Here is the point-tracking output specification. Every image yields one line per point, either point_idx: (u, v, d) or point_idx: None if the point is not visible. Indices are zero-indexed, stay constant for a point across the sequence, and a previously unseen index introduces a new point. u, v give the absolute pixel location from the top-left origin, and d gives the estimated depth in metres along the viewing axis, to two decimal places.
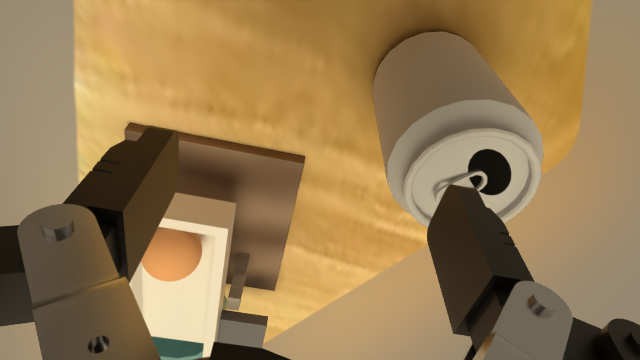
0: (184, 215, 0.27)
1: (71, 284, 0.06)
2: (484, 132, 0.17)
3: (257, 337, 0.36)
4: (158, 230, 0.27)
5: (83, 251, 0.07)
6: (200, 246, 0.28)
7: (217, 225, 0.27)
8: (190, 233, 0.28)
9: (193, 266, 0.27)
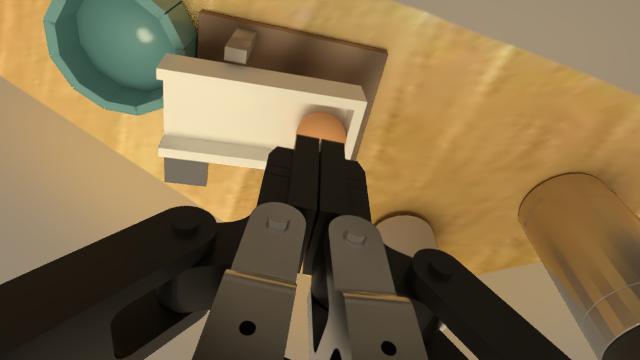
0: None
1: (261, 269, 0.07)
2: None
3: (186, 179, 0.36)
4: (345, 132, 0.32)
5: (283, 249, 0.08)
6: None
7: None
8: None
9: None
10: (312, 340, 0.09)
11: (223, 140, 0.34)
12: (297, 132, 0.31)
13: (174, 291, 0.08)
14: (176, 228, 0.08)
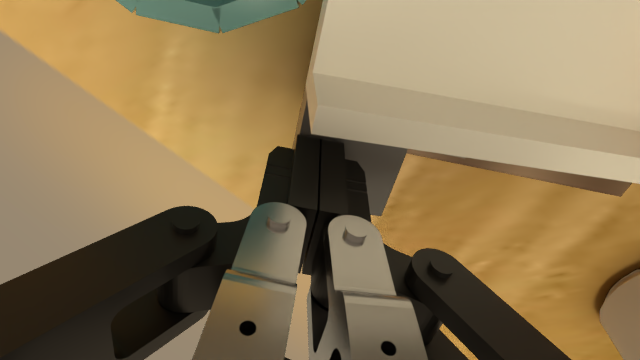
0: None
1: (261, 270, 0.07)
2: None
3: None
4: None
5: (283, 249, 0.08)
6: None
7: None
8: None
9: None
10: (312, 340, 0.09)
11: (470, 94, 0.12)
12: None
13: (174, 291, 0.08)
14: (177, 228, 0.08)
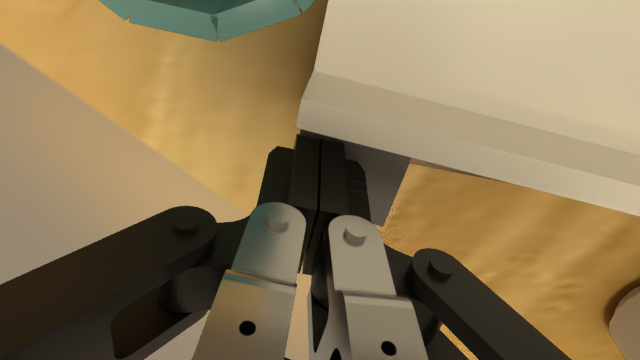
0: None
1: (261, 269, 0.07)
2: None
3: None
4: None
5: (283, 249, 0.08)
6: None
7: None
8: None
9: None
10: (312, 340, 0.09)
11: (478, 106, 0.11)
12: None
13: (174, 291, 0.08)
14: (176, 228, 0.08)
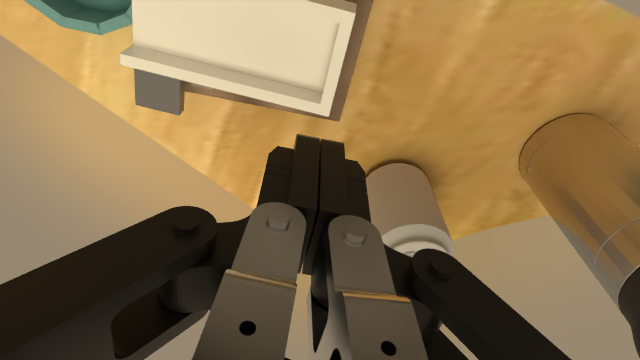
0: None
1: (261, 269, 0.07)
2: None
3: (158, 103, 0.32)
4: None
5: (283, 249, 0.08)
6: None
7: None
8: None
9: None
10: (312, 340, 0.09)
11: (196, 58, 0.30)
12: None
13: (174, 291, 0.08)
14: (176, 228, 0.08)
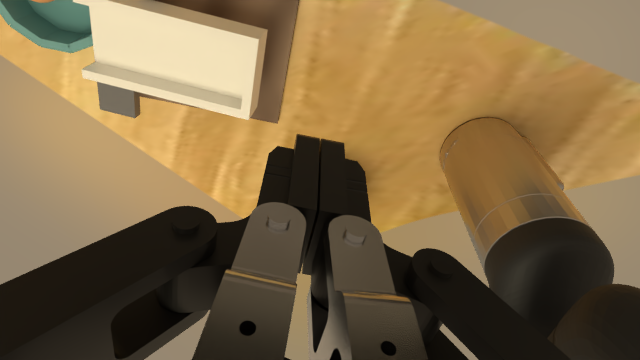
0: (254, 85, 0.35)
1: (261, 269, 0.07)
2: None
3: (118, 108, 0.39)
4: None
5: (283, 249, 0.08)
6: None
7: (250, 111, 0.36)
8: None
9: (39, 1, 0.36)
10: (312, 340, 0.09)
11: (145, 72, 0.37)
12: None
13: (174, 291, 0.08)
14: (176, 228, 0.08)
